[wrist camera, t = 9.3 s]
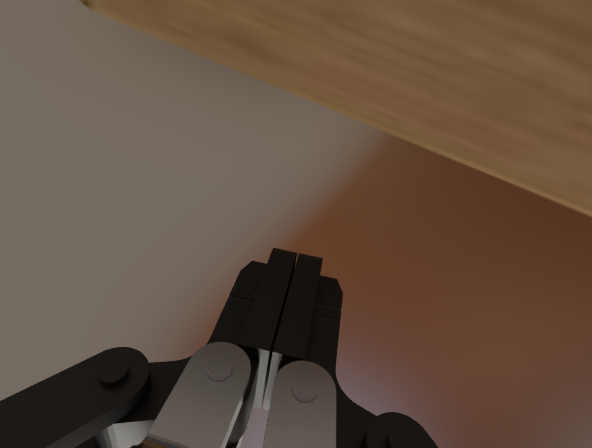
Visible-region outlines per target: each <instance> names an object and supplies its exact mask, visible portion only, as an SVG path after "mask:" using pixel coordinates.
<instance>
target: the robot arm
mask: <svg viewBox="0 0 592 448" xmlns="http://www.w3.org/2000/svg"><path fill="white" fill-rule="evenodd" d="M296 258H297V253H296V252H291V251H286V250H282V249H277V248H273V250H272V252H271V255H270V258H269V260H268V263H267V264H264V263H260V262H255V261H251V262H250V263H249V264H248V265H247V266H246V267H244V268H243V269H242V270H241V271H240V273H239V275H238V277H237V280H236V282H235V284H234V287H233V288H232V290H231V293H230V295H229V298H228V300H227V302H226V304H225V306H224V308H223V311H222V313H221V315H220V317H219V319H218V322H217V324H216V326H215V329H214V331H213V333H212V335H211V337H210V339H209V341H208V343H207V344H206V345H205V346H203V347H201V348H200V349H199V350H197V351H196V352H195V353H194V354H193V356H191V357H188V358H186V359H182V360H178V361H168V362H153V363H148V360H147V358H146V357H145V356H144V354H142V353H141V352H140V351H138V350H135V349H133V348H129V347H117V348H112V349H108V350H105V351H103V352H101V353H99V354H97V355H95V356H92V357H91V358H88V359H86V360H84V361H82V362H80V363H78V364H76V365H74V366H72V367H70V368H68V369H66V370H64V371H61V372H59V373H57V374H55V375H53V376H51V377H49V378H47V379H45V380H43V381H41V382H39V383H37V384H35V385H33V386H30V387H29V388H26V389H24V390H22V391H20V392H18V393H16V394H14V395H12V396H10V397H8V398H6V399H4V400H2V401H0V448H239V447H240V444H241V441H242V438H243V434H244V432H245V430H246V427H247V423H248V420H249V417H250V413H251V409H252V407H256V408H260V409H261V407H262V403H263V399H264V395H265V391H266V397H265V403H264V409H265V410H269V414H268V420H267V425H266V432H265V437H264V443H263V448H438V447H437V445H436V444H435V443H434V441H433V440H432V439H431V437H430V436H429V435H428V433H427V432H426V431H425V430H424V428H423V427H422V426H421V425H420V424H418V423H417V422H416V421H415V420H413V419H412V418H410V417H408V416H406V415H403V414H400V413H395V412H388V413H383V414H381V415H379V416H376V415H374V414H372V413H370V412H369V411H367V410H365V409H364V408H362V407H360V406H359V405H357V404H356V403H354V402H352V400H350V399H349V398H348V397H347V396H346V394H345V393H344V392H343V391H342V389H341V388H340V386H339V384H338V381H337V378H336V372H335V371H336V370H335V369H336V357H337V347H338V336H339V326H340V317H341V307H342V297H343V292H342V290H341V288H340V285H339V283H338V281H337V279H334V278H330V277H325V276H320V272H321V266H322V260H323V258H320V257H315V256H310V255H306V254H301V253H299V255H298V259H297V263H296ZM295 264H296V266H295ZM267 383H268V384H267ZM266 387H267V390H266Z"/></svg>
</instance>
